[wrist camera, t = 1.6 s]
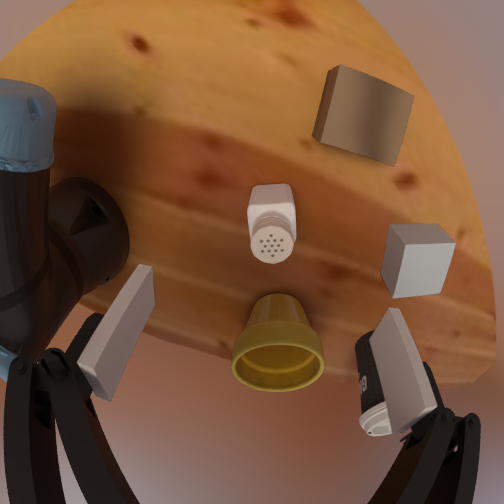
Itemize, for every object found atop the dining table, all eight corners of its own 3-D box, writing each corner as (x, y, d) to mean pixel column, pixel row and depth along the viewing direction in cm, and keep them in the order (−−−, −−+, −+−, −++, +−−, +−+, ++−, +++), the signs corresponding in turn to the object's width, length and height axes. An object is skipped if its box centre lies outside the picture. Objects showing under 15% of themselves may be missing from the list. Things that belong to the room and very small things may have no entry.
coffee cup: (349, 326, 37) (369, 417, 24) (407, 318, 35) (440, 399, 22) (342, 363, 41) (354, 442, 28) (393, 356, 40) (414, 429, 27)
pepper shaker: (292, 217, 29) (299, 267, 21) (255, 219, 29) (247, 269, 21) (290, 181, 27) (298, 219, 19) (251, 184, 27) (241, 222, 19)
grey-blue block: (380, 273, 32) (392, 298, 27) (388, 223, 28) (405, 244, 24) (424, 270, 31) (439, 293, 27) (435, 223, 27) (455, 242, 23)
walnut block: (311, 135, 24) (320, 142, 20) (327, 71, 21) (340, 64, 16) (375, 155, 25) (394, 167, 20) (391, 95, 21) (414, 95, 17)
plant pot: (298, 342, 39) (300, 398, 31) (231, 326, 38) (221, 383, 30) (329, 293, 34) (342, 352, 25) (252, 271, 33) (245, 331, 24)
